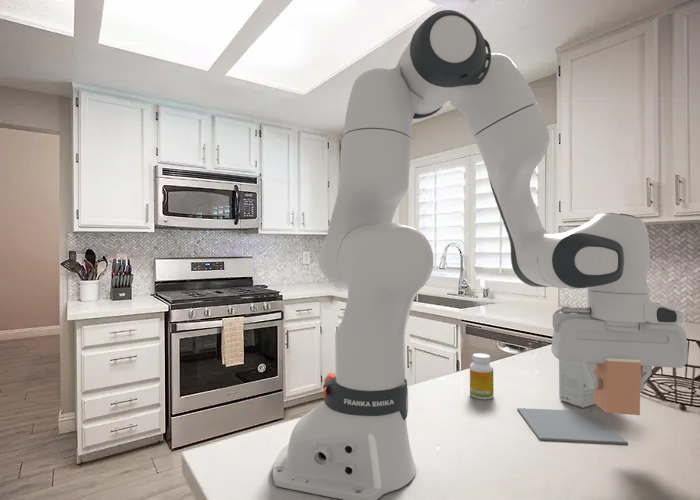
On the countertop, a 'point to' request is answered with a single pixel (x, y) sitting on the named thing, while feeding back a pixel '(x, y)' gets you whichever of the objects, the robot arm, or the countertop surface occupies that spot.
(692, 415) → the countertop surface
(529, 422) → the mat
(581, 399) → the skincare box
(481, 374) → the supplement bottle
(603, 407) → the block
